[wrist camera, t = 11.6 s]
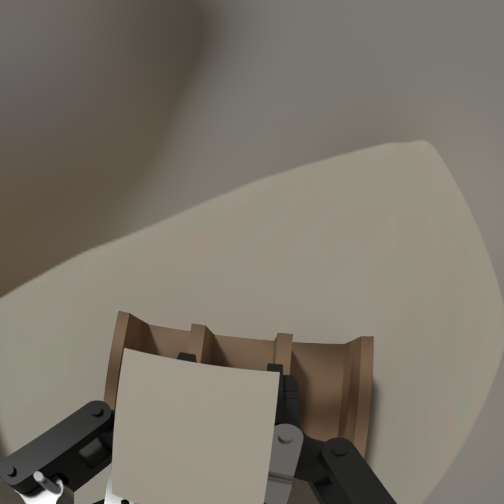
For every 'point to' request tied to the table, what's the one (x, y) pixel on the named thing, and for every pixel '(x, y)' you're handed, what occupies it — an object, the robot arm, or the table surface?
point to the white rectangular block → (192, 432)
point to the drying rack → (256, 358)
